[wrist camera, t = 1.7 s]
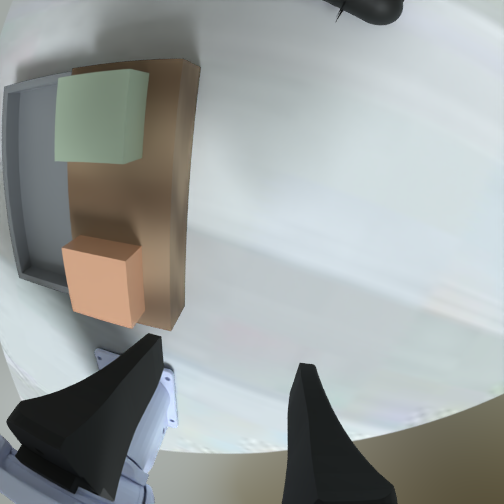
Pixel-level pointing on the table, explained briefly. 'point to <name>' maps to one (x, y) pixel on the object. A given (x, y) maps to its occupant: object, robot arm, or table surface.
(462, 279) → the table surface
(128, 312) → the terracotta block
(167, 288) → the walnut ledge
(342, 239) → the table surface
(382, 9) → the door handle
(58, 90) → the sage tile
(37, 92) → the charcoal tray
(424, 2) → the table surface
